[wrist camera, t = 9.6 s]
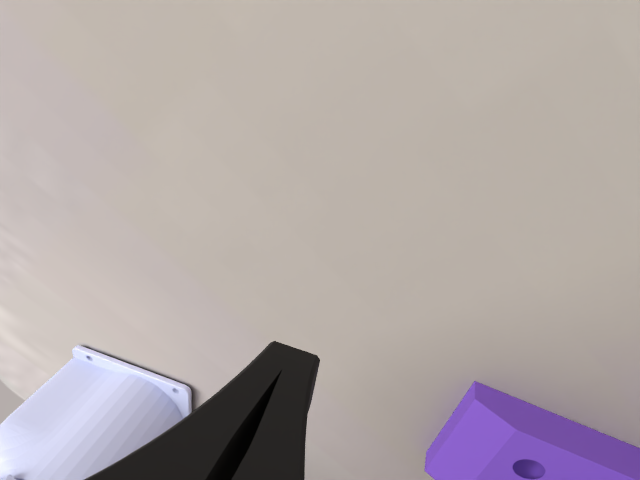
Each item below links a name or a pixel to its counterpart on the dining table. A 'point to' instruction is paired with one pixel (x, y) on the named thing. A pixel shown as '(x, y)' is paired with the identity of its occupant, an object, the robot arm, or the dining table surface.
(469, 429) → the purple holed block
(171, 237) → the dining table surface
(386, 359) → the dining table surface
